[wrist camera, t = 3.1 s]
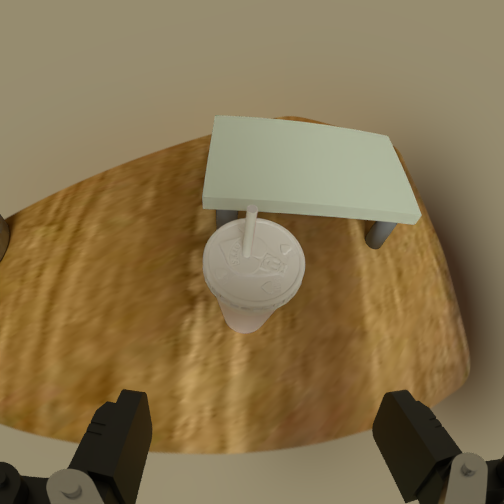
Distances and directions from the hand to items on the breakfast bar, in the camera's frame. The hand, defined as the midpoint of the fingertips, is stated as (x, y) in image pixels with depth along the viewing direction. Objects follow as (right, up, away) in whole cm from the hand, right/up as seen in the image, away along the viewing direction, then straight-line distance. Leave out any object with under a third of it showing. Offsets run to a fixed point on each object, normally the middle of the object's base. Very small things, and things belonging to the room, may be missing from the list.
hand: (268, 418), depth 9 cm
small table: (+5, +11, +25) cm, 28 cm away
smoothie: (-1, 0, +18) cm, 18 cm away
